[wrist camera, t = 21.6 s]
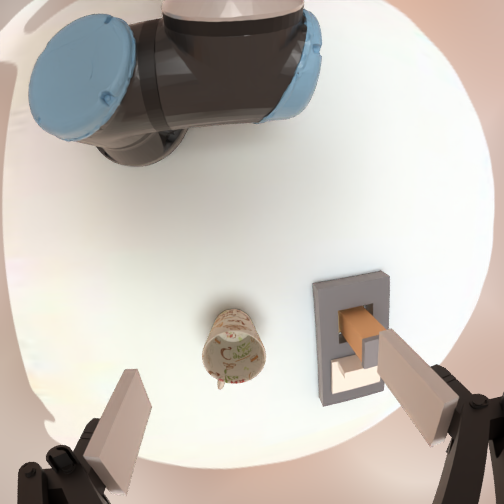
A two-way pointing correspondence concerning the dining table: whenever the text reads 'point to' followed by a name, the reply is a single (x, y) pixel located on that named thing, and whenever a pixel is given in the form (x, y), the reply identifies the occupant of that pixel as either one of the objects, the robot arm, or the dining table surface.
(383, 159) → the dining table surface
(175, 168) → the dining table surface
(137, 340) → the dining table surface
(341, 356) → the socket
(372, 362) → the plug
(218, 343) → the mug
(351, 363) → the panel
